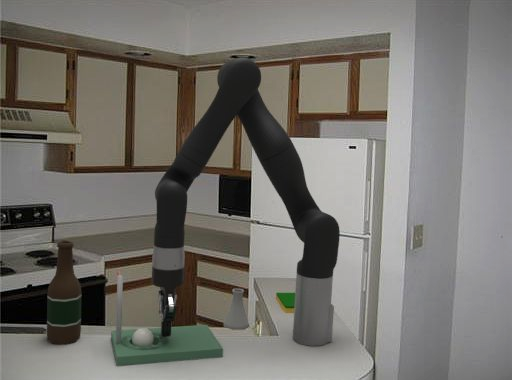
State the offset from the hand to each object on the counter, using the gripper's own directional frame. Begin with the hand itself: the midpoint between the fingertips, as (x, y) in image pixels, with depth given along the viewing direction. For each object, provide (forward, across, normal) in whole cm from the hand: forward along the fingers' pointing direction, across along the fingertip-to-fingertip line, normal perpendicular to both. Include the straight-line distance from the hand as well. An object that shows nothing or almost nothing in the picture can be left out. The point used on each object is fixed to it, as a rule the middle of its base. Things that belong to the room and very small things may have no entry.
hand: (165, 335), depth 134 cm
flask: (+3, +11, -21) cm, 24 cm away
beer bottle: (+3, +10, +23) cm, 25 cm away
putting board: (+3, 0, 0) cm, 3 cm away
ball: (0, 0, +5) cm, 5 cm away
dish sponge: (+4, +25, -43) cm, 50 cm away
